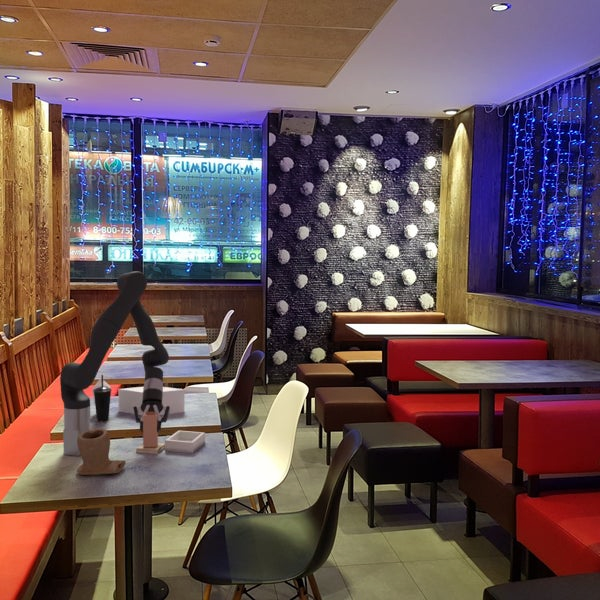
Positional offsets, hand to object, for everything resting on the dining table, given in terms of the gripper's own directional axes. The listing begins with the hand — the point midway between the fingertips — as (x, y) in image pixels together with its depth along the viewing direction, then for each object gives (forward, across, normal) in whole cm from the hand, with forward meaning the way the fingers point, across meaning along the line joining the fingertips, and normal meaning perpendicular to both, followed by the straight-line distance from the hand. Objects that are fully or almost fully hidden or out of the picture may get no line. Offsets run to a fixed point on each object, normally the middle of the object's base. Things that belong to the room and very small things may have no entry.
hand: (150, 431), depth 243 cm
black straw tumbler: (-33, -26, +44) cm, 62 cm away
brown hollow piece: (+21, -15, -10) cm, 27 cm away
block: (-35, -4, +46) cm, 57 cm away
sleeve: (+3, 0, +5) cm, 6 cm away
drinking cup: (-25, -24, +36) cm, 50 cm away
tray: (+2, +13, +9) cm, 16 cm away
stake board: (+4, 0, +7) cm, 8 cm away
